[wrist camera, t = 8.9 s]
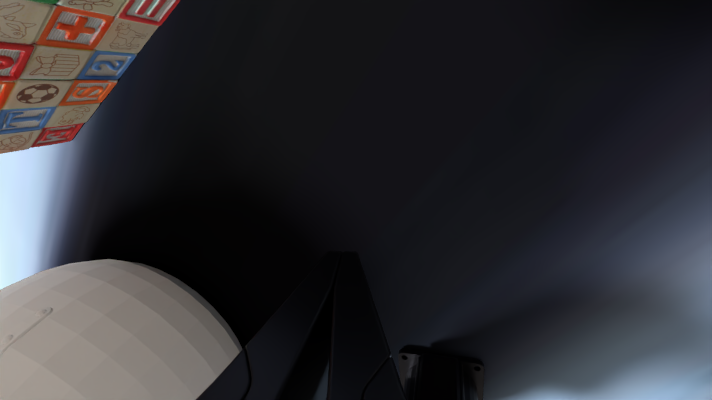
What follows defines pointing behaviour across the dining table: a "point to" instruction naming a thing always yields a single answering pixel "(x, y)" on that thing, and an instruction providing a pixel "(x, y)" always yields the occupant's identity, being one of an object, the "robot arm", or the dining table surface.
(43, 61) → the stack of blocks
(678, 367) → the dining table surface
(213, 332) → the pot
